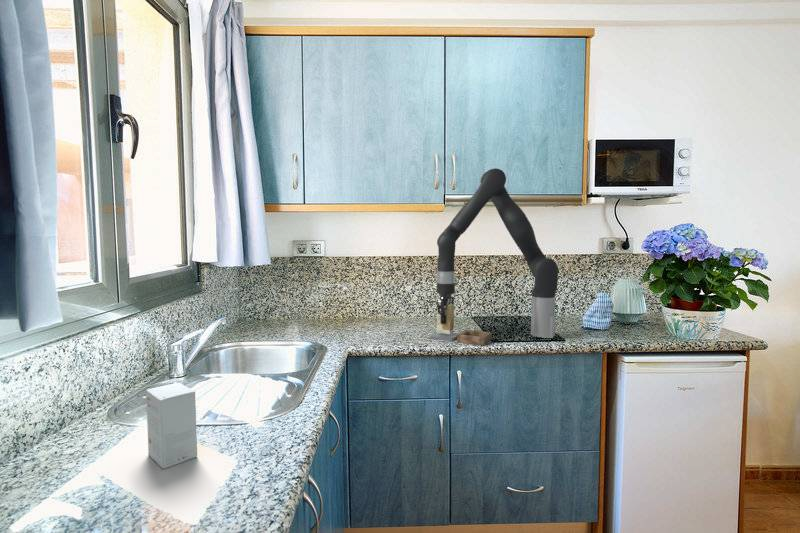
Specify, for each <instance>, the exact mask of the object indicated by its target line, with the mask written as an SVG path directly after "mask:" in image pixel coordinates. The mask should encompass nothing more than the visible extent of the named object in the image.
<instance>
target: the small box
mask: <svg viewBox="0 0 800 533" xmlns="http://www.w3.org/2000/svg"><path fill="white" fill-rule="evenodd" d="M145 393H146V397H145V398H146V424H147V445H148V447H147V448H148V450H147V451H148V452H147V453H148V455H149V456H150V457H151V458H152V460H154V461H155V462H156V463H157V465H159V467H161V469H163V470H164V469H167V468H170V467H173V466H176V465H178V464H181V463H184V462H187V461H189V460H192V459H195V458H197V457H198V439H197V438H198V435H197V410H196V409H197V408H196V391H195V390H193V389H192V388H190V387H188V386H187V385H185V384H183V383H181V382H179V381H178V382H174V383H170V384H166V385H162V386H161V385H160V386H156V387H153V388H147V389H146V390H145Z"/></svg>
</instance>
